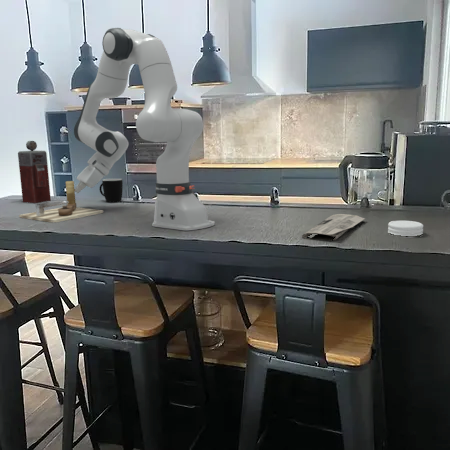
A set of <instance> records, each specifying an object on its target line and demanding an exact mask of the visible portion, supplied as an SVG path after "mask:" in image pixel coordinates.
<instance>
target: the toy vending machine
mask: <svg viewBox="0 0 450 450" xmlns="http://www.w3.org/2000/svg"><path fill="white" fill-rule="evenodd" d="M25 146H26V149H27V150H22V151H21V150H20V151H18V153H17V158H18V168H19V179H20V187H21V197H22V203H27V202H28V204H39V203H46V202H52V201H51V189H50V177H49V164H48V158H47V157H48V154H47V151H46V150H36V149H37V148H38V147H37V146H38V144H37V142H36V141H34V140H28V141H27V142H26V144H25Z"/></svg>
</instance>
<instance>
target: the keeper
mask: <svg viewBox="0 0 450 450" xmlns="http://www.w3.org/2000/svg"><path fill="white" fill-rule="evenodd" d="M67 203H69V201H67V200H52V201H46V202H40V203H34V205H35V212H36V215H37V216H44V211H45V208H49V207H50V208H51V207H56V206H61V208H62V207H63V208H68V207H67Z"/></svg>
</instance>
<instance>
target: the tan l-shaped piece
mask: <svg viewBox="0 0 450 450" xmlns="http://www.w3.org/2000/svg"><path fill="white" fill-rule="evenodd" d="M65 191H66V194H65V195H66V201H69V203H67V207H68V208H62V207H58V208H59V209H58V213H59V215H69V214H72V211H73V210H75V209H76V208H77V202H76V192H75V181H74V180H67V181H65Z"/></svg>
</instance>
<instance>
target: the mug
mask: <svg viewBox="0 0 450 450" xmlns="http://www.w3.org/2000/svg"><path fill="white" fill-rule="evenodd" d="M123 188H124V185H123V178H105V179H101V184H100V186H99V193H100V194H101V195H102V196H103V197H104V199H105V201H106V203H111V204H112V203H120V202H121V201H122V198H123ZM102 189H103V190H102Z"/></svg>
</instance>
